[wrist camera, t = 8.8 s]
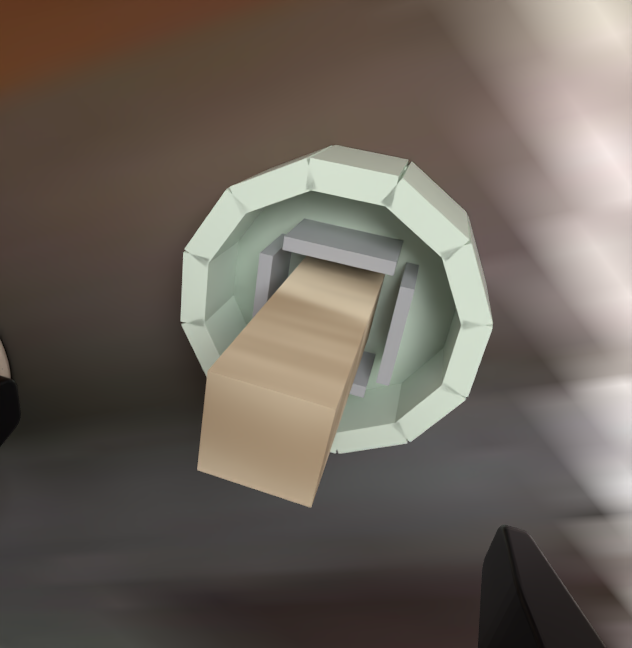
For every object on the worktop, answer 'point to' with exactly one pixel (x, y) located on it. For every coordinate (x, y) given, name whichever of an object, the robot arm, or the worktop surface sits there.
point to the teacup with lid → (4, 363)
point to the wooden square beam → (289, 381)
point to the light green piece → (358, 251)
